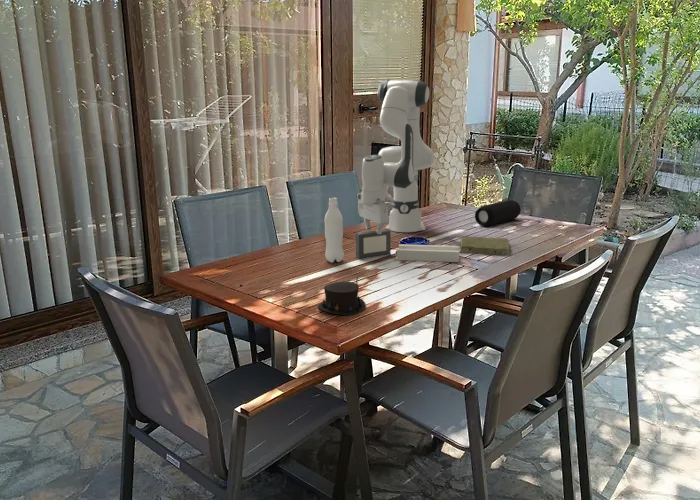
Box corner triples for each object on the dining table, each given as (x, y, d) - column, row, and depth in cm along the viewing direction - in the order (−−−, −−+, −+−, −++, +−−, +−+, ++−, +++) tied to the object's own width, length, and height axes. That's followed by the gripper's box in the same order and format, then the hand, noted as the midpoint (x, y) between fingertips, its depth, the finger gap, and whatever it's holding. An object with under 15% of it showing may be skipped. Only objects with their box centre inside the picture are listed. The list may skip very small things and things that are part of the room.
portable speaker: (505, 217, 316) (506, 198, 313) (521, 220, 309) (522, 200, 306) (473, 225, 300) (473, 205, 297) (489, 229, 293) (490, 208, 290)
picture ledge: (399, 253, 254) (399, 244, 253) (459, 255, 249) (459, 246, 248) (396, 259, 245) (396, 250, 244) (458, 262, 241) (458, 252, 240)
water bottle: (335, 257, 250) (333, 195, 244) (347, 260, 245) (346, 198, 239) (321, 261, 246) (319, 198, 239) (334, 264, 241) (332, 200, 234)
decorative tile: (460, 243, 270) (460, 235, 269) (508, 244, 266) (508, 236, 265) (458, 254, 253) (459, 246, 252) (509, 256, 249) (510, 248, 248)
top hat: (343, 320, 185) (342, 287, 183) (308, 309, 195) (306, 277, 192) (375, 306, 196) (375, 275, 193) (340, 296, 206) (339, 266, 203)
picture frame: (355, 257, 250) (355, 233, 247) (387, 253, 256) (386, 229, 253) (359, 259, 247) (358, 235, 245) (390, 254, 253) (390, 230, 250)
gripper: (392, 200, 237) (392, 235, 240) (369, 193, 255) (369, 226, 258) (378, 201, 234) (378, 237, 238) (355, 194, 252) (355, 227, 256)
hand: (373, 231), depth 248 cm, fingers open, 8 cm apart
